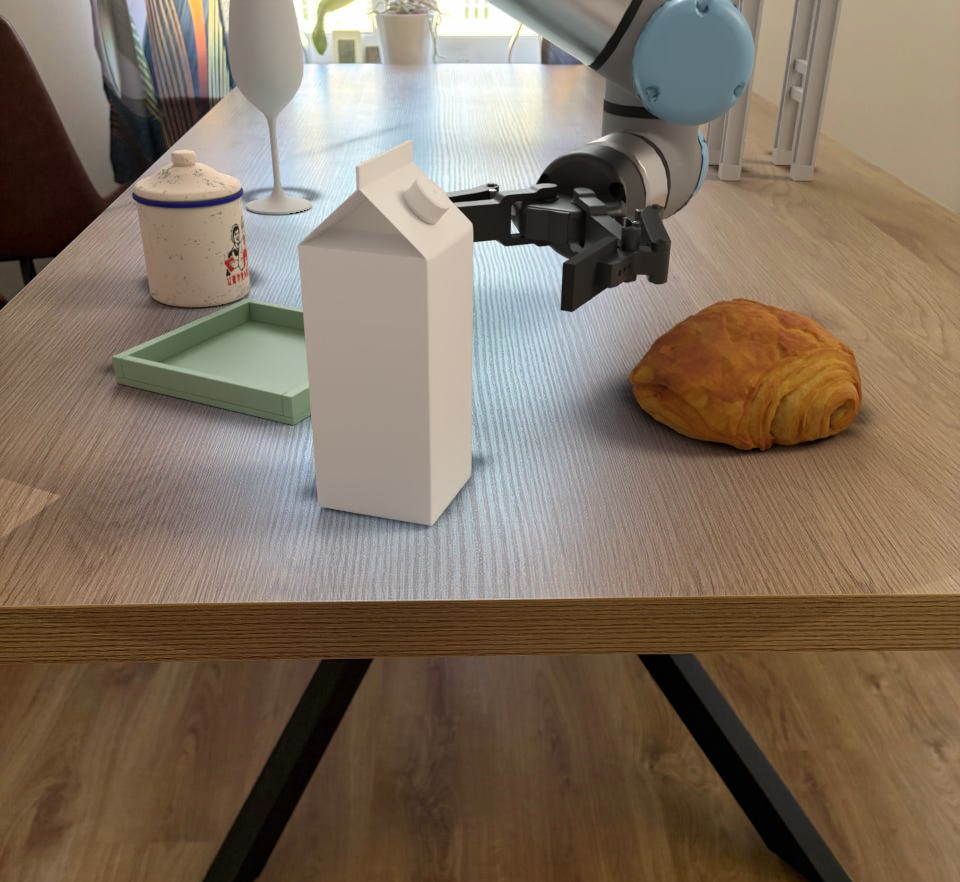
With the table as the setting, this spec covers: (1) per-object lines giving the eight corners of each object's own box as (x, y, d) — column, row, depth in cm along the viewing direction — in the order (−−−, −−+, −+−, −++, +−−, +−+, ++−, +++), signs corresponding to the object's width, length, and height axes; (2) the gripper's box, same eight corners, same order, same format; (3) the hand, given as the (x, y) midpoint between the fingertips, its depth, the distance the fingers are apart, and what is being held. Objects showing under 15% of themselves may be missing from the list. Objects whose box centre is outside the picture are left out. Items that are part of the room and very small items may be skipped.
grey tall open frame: (708, 184, 136) (750, -170, 117) (684, 157, 149) (719, -166, 129) (833, 184, 137) (896, -168, 117) (799, 158, 150) (851, -164, 130)
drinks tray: (116, 383, 81) (111, 356, 80) (249, 321, 92) (246, 297, 91) (293, 425, 75) (291, 397, 74) (412, 354, 86) (411, 329, 85)
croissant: (743, 388, 87) (751, 281, 83) (897, 434, 75) (914, 311, 71) (586, 416, 81) (588, 302, 78) (725, 471, 69) (734, 339, 65)
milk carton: (317, 509, 65) (289, 160, 54) (365, 460, 71) (349, 134, 60) (431, 529, 63) (426, 172, 52) (472, 477, 69) (475, 144, 58)
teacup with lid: (253, 307, 95) (238, 161, 89) (143, 312, 94) (120, 164, 88) (253, 267, 105) (240, 133, 99) (154, 271, 104) (134, 135, 97)
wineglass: (283, 218, 120) (264, -7, 109) (230, 208, 124) (206, -11, 112) (327, 204, 126) (313, -12, 114) (275, 195, 129) (256, -15, 117)
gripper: (758, 274, 80) (654, 368, 64) (450, 229, 89) (295, 302, 73) (774, 161, 75) (668, 233, 60) (450, 127, 85) (285, 181, 69)
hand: (462, 271), depth 67 cm, fingers open, 13 cm apart
